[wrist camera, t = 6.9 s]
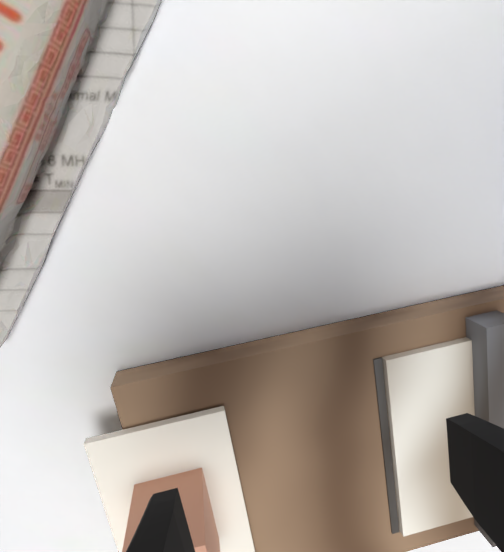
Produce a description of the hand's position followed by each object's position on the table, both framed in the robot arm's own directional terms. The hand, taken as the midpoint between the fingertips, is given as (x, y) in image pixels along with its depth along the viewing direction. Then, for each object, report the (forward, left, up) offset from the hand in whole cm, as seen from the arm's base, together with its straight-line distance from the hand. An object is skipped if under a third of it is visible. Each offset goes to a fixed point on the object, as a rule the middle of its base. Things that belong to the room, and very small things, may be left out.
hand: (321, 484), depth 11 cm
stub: (+5, +6, -8) cm, 11 cm away
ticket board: (-3, +6, -9) cm, 12 cm away
